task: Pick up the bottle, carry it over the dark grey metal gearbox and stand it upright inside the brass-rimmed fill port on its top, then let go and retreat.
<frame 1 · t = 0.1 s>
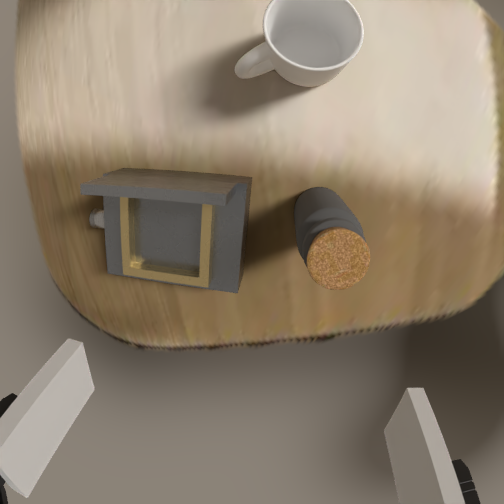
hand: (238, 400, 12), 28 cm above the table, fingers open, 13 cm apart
bottle: (318, 211, 37), on the table
mug: (291, 60, 31), on the table
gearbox: (181, 220, 39), on the table
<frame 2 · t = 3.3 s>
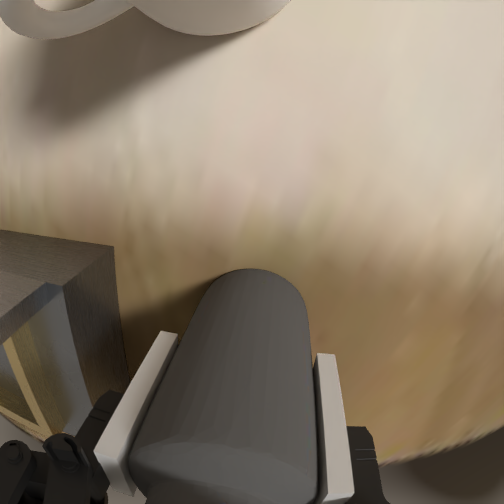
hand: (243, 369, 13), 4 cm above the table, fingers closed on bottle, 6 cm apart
bottle: (253, 314, 18), on the table, touching gripper
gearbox: (31, 310, 19), on the table
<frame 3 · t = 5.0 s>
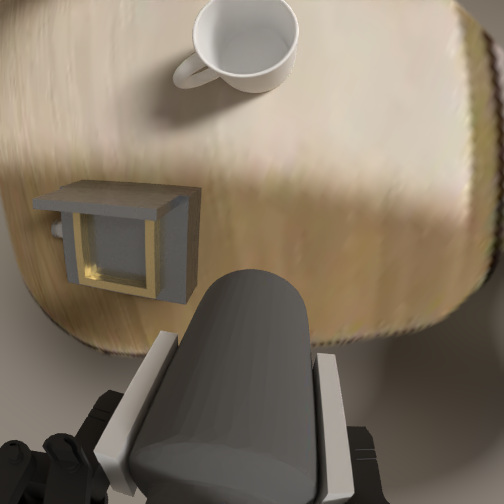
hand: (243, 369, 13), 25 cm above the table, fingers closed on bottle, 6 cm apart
bottle: (253, 315, 18), point 20 cm above the table, touching gripper
mug: (240, 66, 31), on the table
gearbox: (136, 231, 38), on the table
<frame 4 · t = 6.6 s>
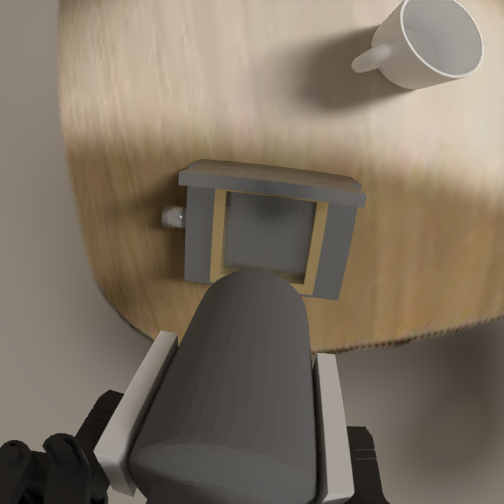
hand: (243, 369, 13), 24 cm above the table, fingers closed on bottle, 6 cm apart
bottle: (253, 315, 18), point 19 cm above the table, touching gripper
mug: (390, 59, 28), on the table
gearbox: (270, 220, 36), on the table
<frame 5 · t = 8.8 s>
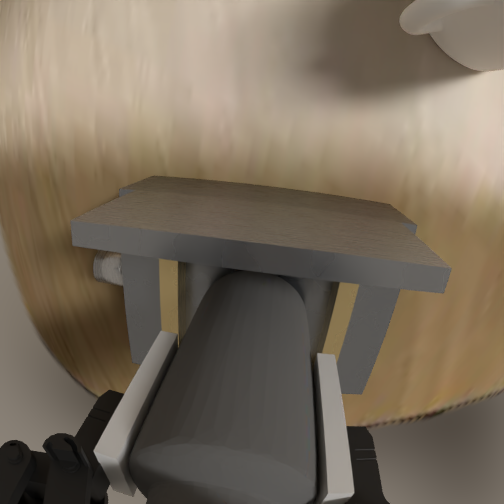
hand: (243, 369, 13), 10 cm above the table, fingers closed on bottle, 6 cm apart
bottle: (253, 316, 18), point 6 cm above the table, touching gripper
mug: (445, 25, 15), on the table
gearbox: (261, 272, 23), on the table
when the fingers open (9 cm above the table, at t = 10.2 s): bottle stays where it is, resting on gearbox.
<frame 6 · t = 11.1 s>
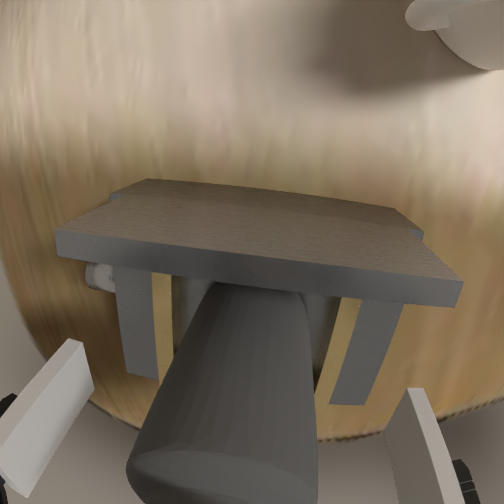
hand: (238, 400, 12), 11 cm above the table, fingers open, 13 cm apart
bottle: (253, 318, 17), point 5 cm above the table, touching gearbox
mug: (451, 22, 14), on the table
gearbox: (260, 279, 22), on the table
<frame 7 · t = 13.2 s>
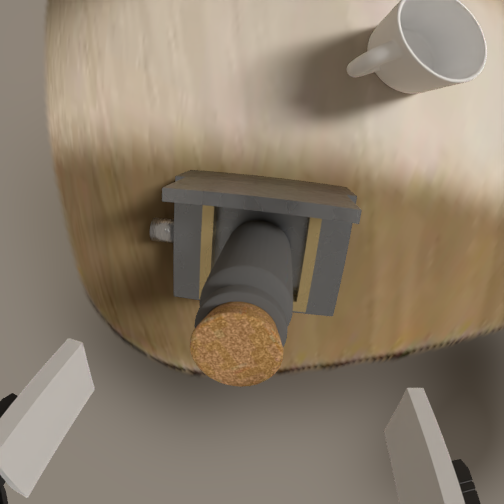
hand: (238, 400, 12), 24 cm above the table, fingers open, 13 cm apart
bottle: (258, 249, 30), point 5 cm above the table, touching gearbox
mug: (387, 62, 27), on the table
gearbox: (262, 233, 34), on the table
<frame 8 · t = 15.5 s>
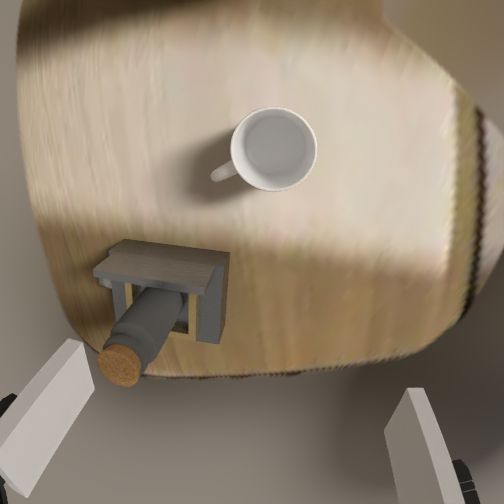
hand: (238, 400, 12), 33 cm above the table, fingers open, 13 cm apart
bottle: (163, 298, 43), point 5 cm above the table, touching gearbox
mug: (262, 151, 40), on the table
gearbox: (174, 283, 47), on the table
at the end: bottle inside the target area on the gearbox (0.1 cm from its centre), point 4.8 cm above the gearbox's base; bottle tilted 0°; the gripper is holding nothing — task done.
